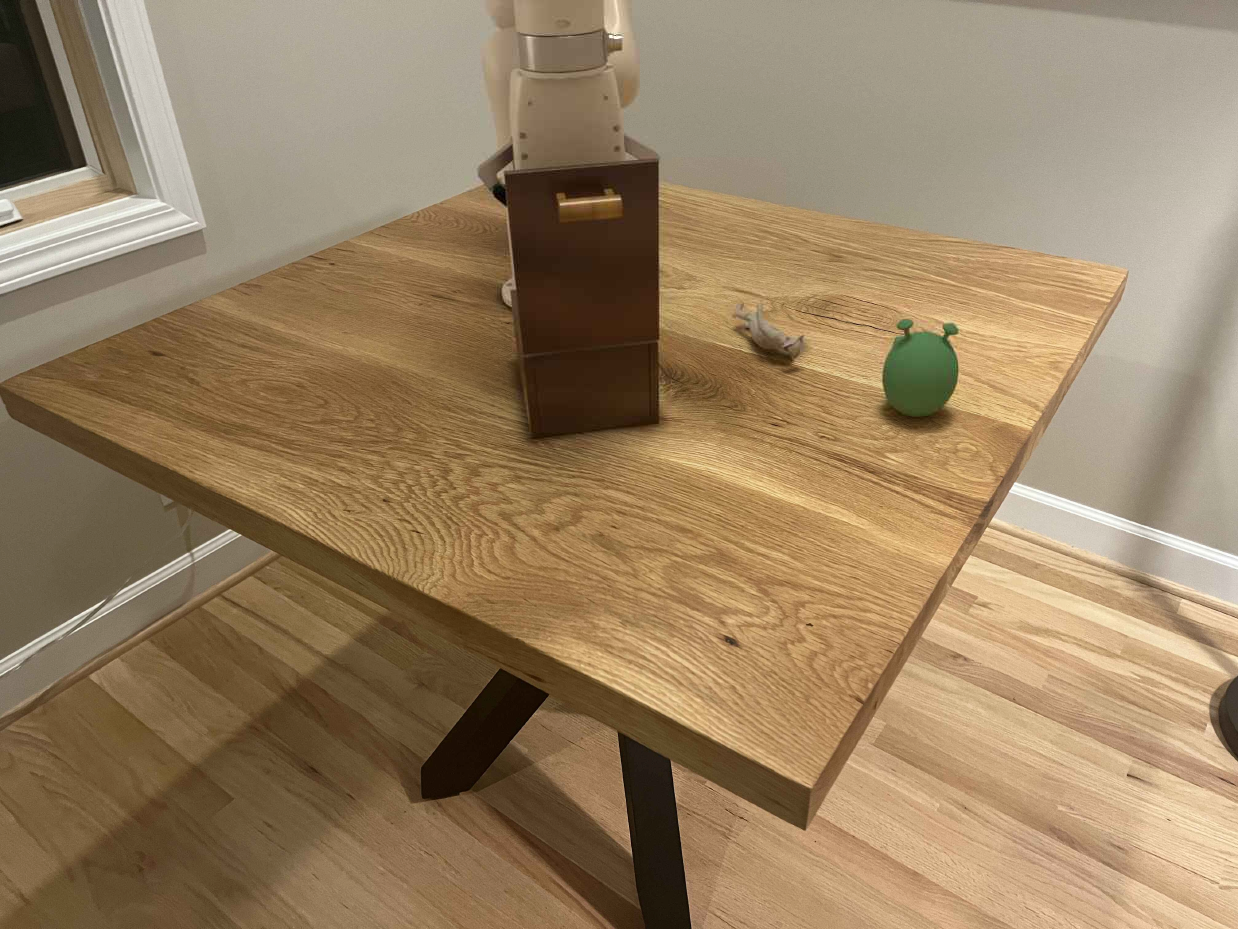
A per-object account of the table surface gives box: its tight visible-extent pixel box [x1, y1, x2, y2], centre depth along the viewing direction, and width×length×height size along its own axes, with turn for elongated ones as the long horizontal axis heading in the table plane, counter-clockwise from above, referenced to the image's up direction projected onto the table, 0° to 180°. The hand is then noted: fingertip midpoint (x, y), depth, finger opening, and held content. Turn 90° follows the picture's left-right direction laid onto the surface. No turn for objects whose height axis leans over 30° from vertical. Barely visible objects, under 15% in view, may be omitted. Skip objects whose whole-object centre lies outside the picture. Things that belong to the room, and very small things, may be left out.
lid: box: [504, 158, 660, 355], centre depth 77 cm, size 17×13×5 cm
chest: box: [510, 290, 660, 439], centre depth 93 cm, size 16×13×9 cm
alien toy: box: [881, 318, 960, 418], centre depth 87 cm, size 7×8×10 cm
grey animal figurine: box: [730, 299, 805, 362], centre depth 101 cm, size 8×5×12 cm
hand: (574, 246), depth 87 cm, fingers closed on building block, 8 cm apart
